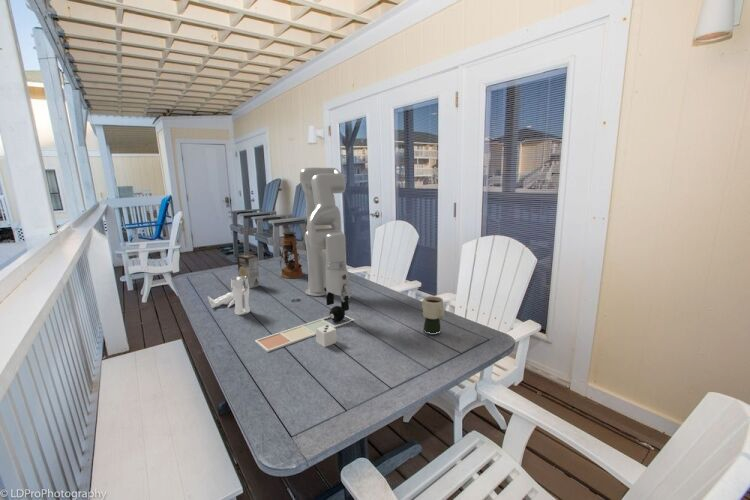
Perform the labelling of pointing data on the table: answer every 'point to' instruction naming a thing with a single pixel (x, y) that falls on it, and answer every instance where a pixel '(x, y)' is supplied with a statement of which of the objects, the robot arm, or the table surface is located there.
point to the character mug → (432, 313)
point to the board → (294, 334)
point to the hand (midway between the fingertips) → (337, 307)
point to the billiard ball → (336, 314)
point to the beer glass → (240, 294)
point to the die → (326, 335)
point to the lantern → (292, 267)
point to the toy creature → (222, 300)
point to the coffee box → (249, 268)
